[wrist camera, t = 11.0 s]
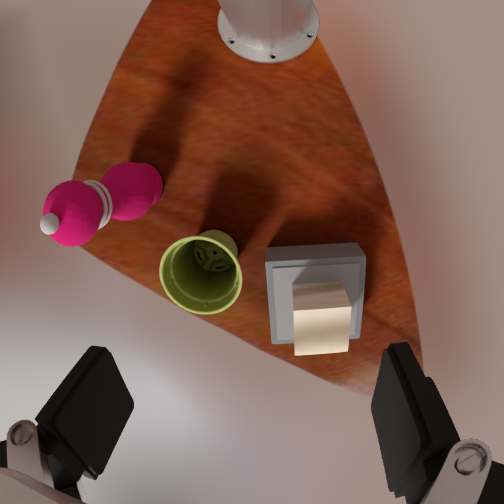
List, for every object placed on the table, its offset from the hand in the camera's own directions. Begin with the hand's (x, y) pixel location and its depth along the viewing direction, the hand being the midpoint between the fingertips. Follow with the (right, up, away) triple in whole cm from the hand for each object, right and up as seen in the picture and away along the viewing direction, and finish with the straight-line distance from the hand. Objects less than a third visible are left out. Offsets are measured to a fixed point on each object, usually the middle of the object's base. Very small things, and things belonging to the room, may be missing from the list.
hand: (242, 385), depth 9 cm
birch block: (+8, -2, +27) cm, 28 cm away
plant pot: (-5, +5, +31) cm, 32 cm away
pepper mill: (-14, +14, +29) cm, 35 cm away
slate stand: (+9, 0, +32) cm, 33 cm away
